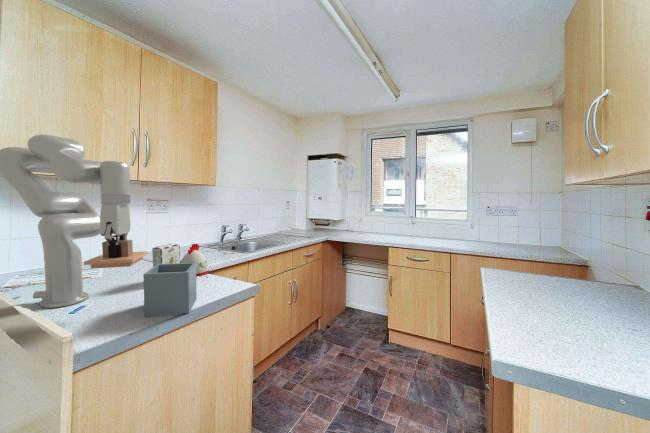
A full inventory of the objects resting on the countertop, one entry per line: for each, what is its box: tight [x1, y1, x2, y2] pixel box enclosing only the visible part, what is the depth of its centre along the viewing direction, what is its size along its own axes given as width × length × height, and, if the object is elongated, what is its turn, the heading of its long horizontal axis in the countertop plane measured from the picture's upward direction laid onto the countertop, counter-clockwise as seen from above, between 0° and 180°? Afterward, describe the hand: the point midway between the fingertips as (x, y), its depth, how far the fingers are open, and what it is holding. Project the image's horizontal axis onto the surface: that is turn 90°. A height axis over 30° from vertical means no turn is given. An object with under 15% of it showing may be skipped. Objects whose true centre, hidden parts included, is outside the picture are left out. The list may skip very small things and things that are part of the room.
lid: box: [83, 239, 148, 269], centre depth 88 cm, size 13×13×8 cm
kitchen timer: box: [180, 243, 210, 278], centre depth 134 cm, size 14×14×15 cm
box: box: [143, 263, 197, 318], centre depth 93 cm, size 13×13×14 cm
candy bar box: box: [151, 243, 181, 268], centre depth 121 cm, size 11×5×16 cm, turn 168°
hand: (118, 255), depth 88 cm, fingers closed on lid, 3 cm apart
